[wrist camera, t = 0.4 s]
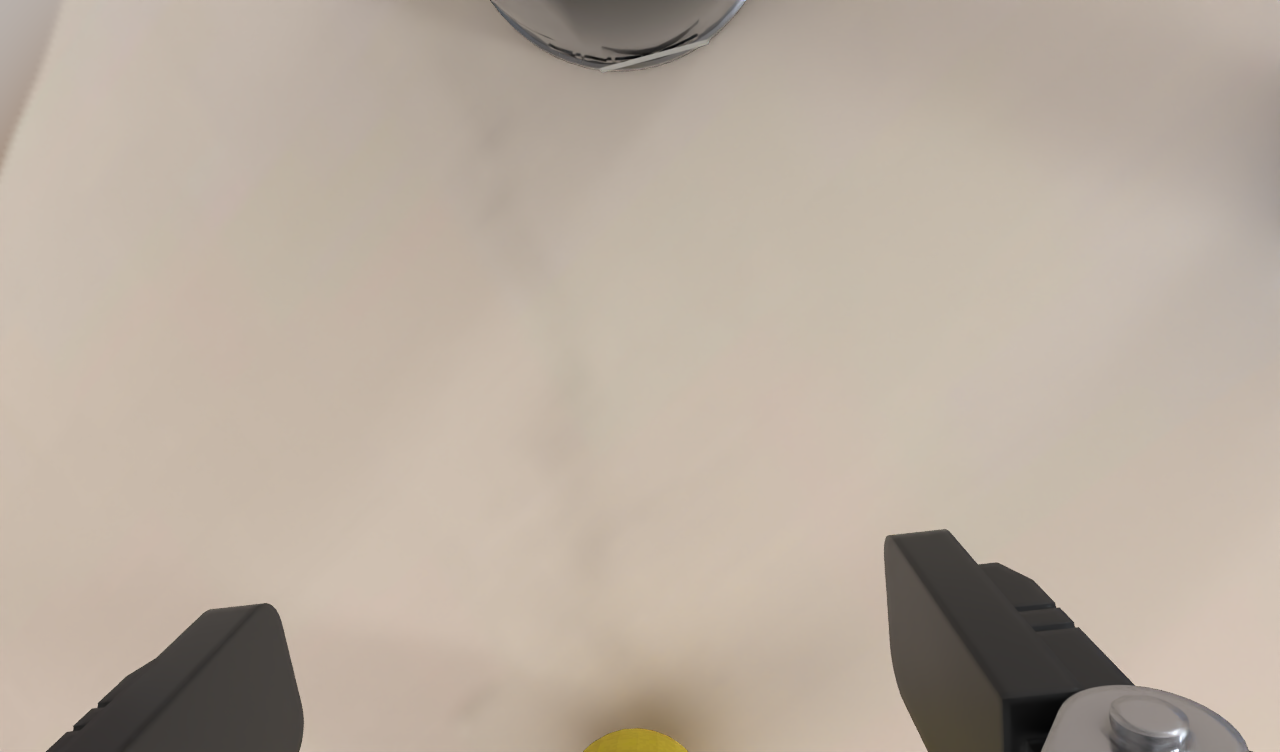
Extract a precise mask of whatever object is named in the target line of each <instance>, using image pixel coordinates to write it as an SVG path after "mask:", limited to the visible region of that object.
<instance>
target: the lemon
mask: <svg viewBox="0 0 1280 752" xmlns="http://www.w3.org/2000/svg"><path fill="white" fill-rule="evenodd" d="M583 752H688V751H687V750H686V749H685V748H684V747H683V746H682V745H680V744H679V743H678V742H676V741H675V740H673V739H672V738H671V737H669V736H666V735H664V734H661V733H659V732H656V731H653V730H647V729H641V728H635V729H622V730H619V731H616V732H612V733H609V734H607V735H605V736H603V737H602V738H600V739H598V740H596V741H595V742H593V743H592V744H590V745H589V746H588V747H587V748H586V749H585V750H584V751H583Z"/></svg>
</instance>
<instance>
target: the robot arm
mask: <svg viewBox="0 0 1280 752" xmlns="http://www.w3.org/2000/svg"><path fill="white" fill-rule="evenodd" d="M490 1H491V2H492V4H493V5H494V6H495V7H496V9H497V10H498V11H499V12H500V13H501V15H502V16H503V17H504V18H505V19H506V20H507V21H508V22H509V23H510V24H511V25H512V26H513V27H514V28H515V29H516V30H517V31H518V32H519V33H521V34H522V35H523V36H524V37H525V38H527V39H528V40H529V41H530V42H532V43H533V44H535V45H536V46H538V47H539V48H541V49H542V50H544V51H546V52H548V53H549V54H551V55H553V56H555V57H557V58H559V59H562V60H564V61H566V62H569V63H572V64H575V65H578V66H582V67H586V68H591V69H596V70H600V71H601V72H602V73H603V72H607V71H633V70H642V69H647V68H651V67H656V66H659V65H662V64H665V63H668V62H671V61H674V60H676V59H678V58H680V57H682V56H685V55H687V54H688V53H690V52H692V51H693V50H695V49H697V48H699V47H700V46H704V45H707V44H708V43H709V40H710V39H711V38H712V37H714V36H715V35H716V34H717V33H718V32H719V31H720V30H722V29H723V28H724V27H725V26H726V25H727V23H728V22H729V21H730V20H731V19H732V18H733V17H734V16H735V15H736V13H737V12H738V11H739V10H740V8H741V7H742V6H743V4H744V3H745V1H746V0H490ZM884 561H885V576H886V591H887V606H888V621H889V635H890V649H891V657H892V663H893V668H894V673H895V677H896V681H897V685H898V688H899V691H900V694H901V697H902V699H903V701H904V703H905V705H906V707H907V710H908V712H909V714H910V716H911V718H912V720H913V722H914V724H915V726H916V728H917V730H918V732H919V734H920V736H921V738H922V740H923V742H924V744H925V746H926V749H927V751H928V752H1251V751H1249V750H1248V747H1247V745H1246V742H1245V740H1244V739H1243V738H1242V736H1241V735H1240V733H1239V732H1238V731H1237V730H1236V729H1235V728H1234V727H1233V726H1232V725H1231V724H1230V723H1229V722H1228V721H1226V720H1225V719H1224V718H1223V717H1221V716H1220V715H1219V714H1217V713H1215V712H1214V711H1212V710H1210V709H1209V708H1207V707H1205V706H1203V705H1201V704H1199V703H1197V702H1195V701H1192V700H1190V699H1187V698H1185V697H1182V696H1179V695H1176V694H1173V693H1170V692H1166V691H1162V690H1158V689H1153V688H1148V687H1141V686H1135V685H1134V684H1133V683H1132V682H1131V681H1130V680H1129V679H1128V678H1127V677H1126V676H1125V675H1124V674H1123V673H1122V672H1121V671H1120V670H1119V669H1118V668H1117V666H1116V665H1115V664H1114V663H1113V662H1112V661H1111V660H1110V659H1109V658H1108V657H1107V656H1106V655H1105V654H1104V653H1103V652H1102V651H1101V650H1100V649H1099V648H1098V647H1097V646H1096V645H1095V644H1094V643H1093V642H1092V641H1091V640H1090V639H1089V638H1088V636H1087V635H1086V634H1085V633H1084V632H1083V631H1082V630H1081V629H1080V628H1079V627H1078V628H1075V626H1074V622H1073V621H1072V620H1071V619H1070V618H1069V617H1068V616H1067V615H1066V614H1065V613H1064V612H1063V611H1062V610H1061V609H1060V608H1056V606H1055V602H1054V601H1053V600H1052V599H1051V598H1050V597H1049V596H1048V595H1047V594H1046V593H1045V592H1044V591H1043V590H1042V589H1041V588H1040V587H1039V586H1038V585H1037V584H1036V583H1035V582H1034V581H1033V580H1032V579H1030V578H1028V577H1026V576H1024V575H1022V574H1020V573H1018V572H1016V571H1013V570H1011V569H1009V568H1007V567H1005V566H1003V565H1001V564H999V563H989V564H979V565H978V564H977V563H976V562H975V561H974V559H973V558H972V557H971V556H970V555H969V554H968V552H967V551H966V550H965V549H964V548H963V547H962V546H961V544H960V543H959V542H958V541H957V540H956V539H955V537H954V536H953V535H952V534H951V533H950V532H949V531H948V530H946V529H943V530H934V531H925V532H916V533H907V534H898V535H889V536H887V537H886V539H885V544H884ZM73 727H74V729H73V731H71V732H66V733H65V734H64V735H63V736H62V737H61V738H60V739H59V740H58V741H57V742H56V743H55V744H54V745H53V746H51V747H50V748H49V749H48V750H47V751H46V752H299V750H300V747H301V742H302V737H303V727H304V717H303V709H302V704H301V700H300V696H299V692H298V688H297V683H296V679H295V675H294V671H293V667H292V663H291V659H290V655H289V650H288V646H287V642H286V638H285V634H284V630H283V626H282V622H281V619H280V616H279V614H278V612H277V611H276V609H275V608H274V607H273V606H272V605H270V604H267V603H264V604H255V605H246V606H237V607H228V608H219V609H210V610H208V611H206V612H205V613H203V614H202V615H201V616H200V617H199V618H198V619H197V620H196V621H195V622H194V623H193V624H192V625H191V626H190V627H188V628H187V629H186V630H185V631H184V632H183V633H182V634H181V635H180V636H179V637H178V638H177V639H176V640H175V641H174V642H173V643H172V644H171V645H170V646H168V647H167V648H166V649H165V650H164V651H163V652H162V653H161V654H160V655H159V656H158V657H157V658H156V659H154V660H153V661H151V662H149V663H148V664H146V665H144V666H143V667H141V668H139V669H138V670H136V671H135V672H133V673H131V674H130V675H128V676H127V677H125V678H124V679H123V680H122V681H121V682H120V683H119V684H118V685H117V686H116V687H115V688H114V689H113V690H112V691H110V692H109V693H108V694H107V695H106V696H105V697H104V698H103V699H102V700H101V701H100V702H99V703H98V708H94V709H91V710H90V711H89V712H88V713H87V714H86V715H85V716H84V717H83V718H81V719H80V720H79V721H78V722H77V723H76V724H75V725H74V726H73Z"/></svg>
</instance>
